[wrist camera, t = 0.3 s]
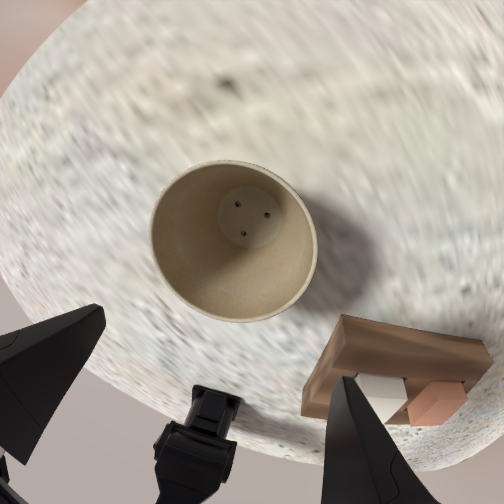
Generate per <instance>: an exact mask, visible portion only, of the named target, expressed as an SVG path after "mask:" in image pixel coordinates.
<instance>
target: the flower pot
mask: <svg viewBox="0 0 504 504" xmlns="http://www.w3.org/2000/svg"><path fill="white" fill-rule="evenodd" d="M236 204H238V205H239V207H237V206H236ZM265 213H269V214H268V215H265ZM245 232H246V235H244V233H245ZM149 242H150V249H151V254H152V257H153V260H154V263H155V266H156V268H157V270H158V272H159V274H160V276H161V277H162V279H163V281H164V282H165V283H166V285H167V286H168V287H169V289H170V290H171V291H172V292H173V293H174V294H175V295H176V296H177V297H178V298H179V299H180V300H181V301H182V302H184V303H185V304H186V305H188V306H189V307H191V308H192V309H194V310H196V311H197V312H199V313H201V314H203V315H206V316H208V317H211V318H214V319H217V320H221V321H227V322H234V323H249V322H256V321H261V320H265V319H268V318H271V317H273V316H275V315H278V314H279V313H281V312H283V311H284V310H286V309H287V308H289V307H290V306H292V305H293V304H294V303H295V302H296V301H297V300H298V299H299V298H300V297H301V296H302V294H303V293H304V292H305V290H306V289H307V287H308V285H309V284H310V282H311V280H312V277H313V274H314V272H315V268H316V264H317V256H318V241H317V234H316V229H315V226H314V223H313V220H312V217H311V215H310V213H309V211H308V209H307V207H306V205H305V204H304V202H303V200H302V199H301V198H300V196H299V195H298V194H297V193H296V191H295V190H294V189H293V188H292V187H291V186H290V185H289V184H288V183H287V182H286V181H284V180H283V179H282V178H280V177H279V176H277V175H276V174H274V173H273V172H271V171H269V170H267V169H265V168H263V167H260V166H258V165H254V164H251V163H247V162H241V161H232V160H218V161H211V162H206V163H202V164H199V165H196V166H194V167H191V168H189V169H187V170H185V171H184V172H182V173H181V174H179V175H178V176H177V177H175V178H174V179H173V180H172V181H171V182H170V183H169V184H168V185H167V186H166V187H165V188H164V190H163V191H162V192H161V194H160V196H159V198H158V199H157V201H156V203H155V206H154V208H153V211H152V215H151V219H150V225H149Z"/></svg>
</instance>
